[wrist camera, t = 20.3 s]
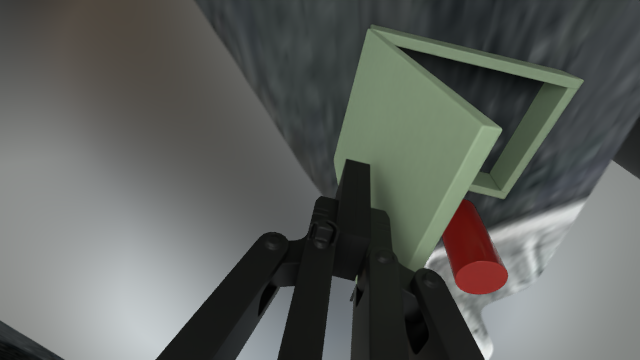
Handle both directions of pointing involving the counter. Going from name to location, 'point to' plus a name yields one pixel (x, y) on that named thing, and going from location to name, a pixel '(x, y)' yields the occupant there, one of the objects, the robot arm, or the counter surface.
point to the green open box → (534, 122)
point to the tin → (472, 252)
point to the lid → (412, 145)
